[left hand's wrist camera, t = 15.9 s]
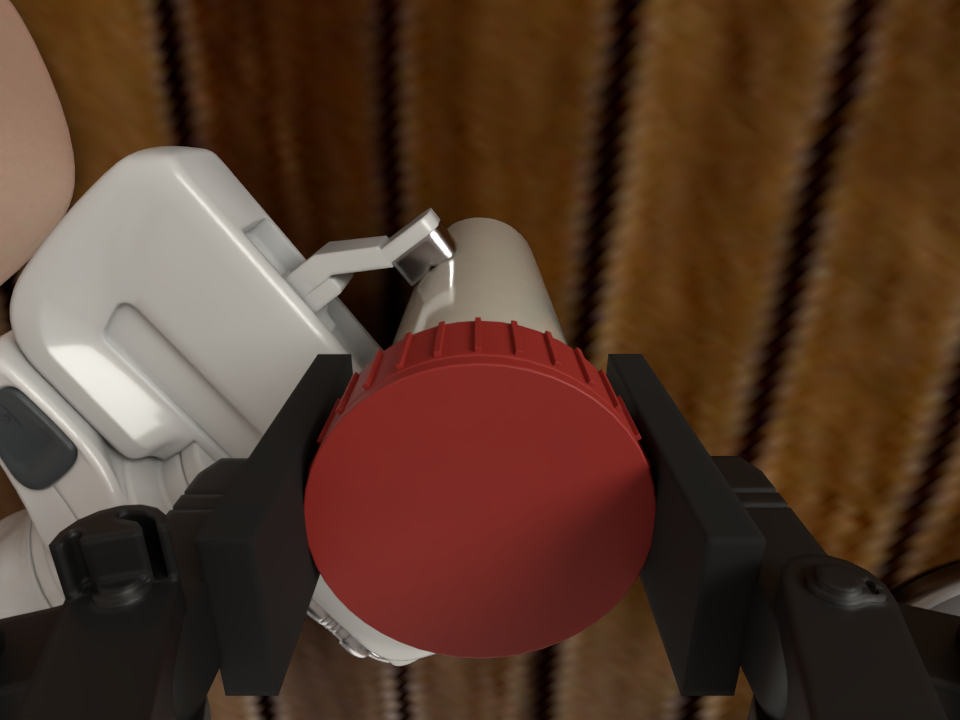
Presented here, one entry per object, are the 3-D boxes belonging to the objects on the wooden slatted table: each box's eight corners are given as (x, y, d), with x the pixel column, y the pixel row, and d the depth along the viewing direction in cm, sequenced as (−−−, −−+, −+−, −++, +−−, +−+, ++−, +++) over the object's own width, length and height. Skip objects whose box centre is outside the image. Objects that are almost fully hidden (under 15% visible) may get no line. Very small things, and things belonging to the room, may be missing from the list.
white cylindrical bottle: (450, 197, 25) (403, 334, 10) (556, 246, 26) (669, 446, 10) (405, 301, 27) (304, 560, 11) (506, 345, 27) (541, 644, 12)
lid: (262, 436, 12) (219, 499, 10) (510, 247, 11) (517, 277, 9) (455, 624, 14) (451, 709, 12) (689, 482, 12) (729, 552, 10)
